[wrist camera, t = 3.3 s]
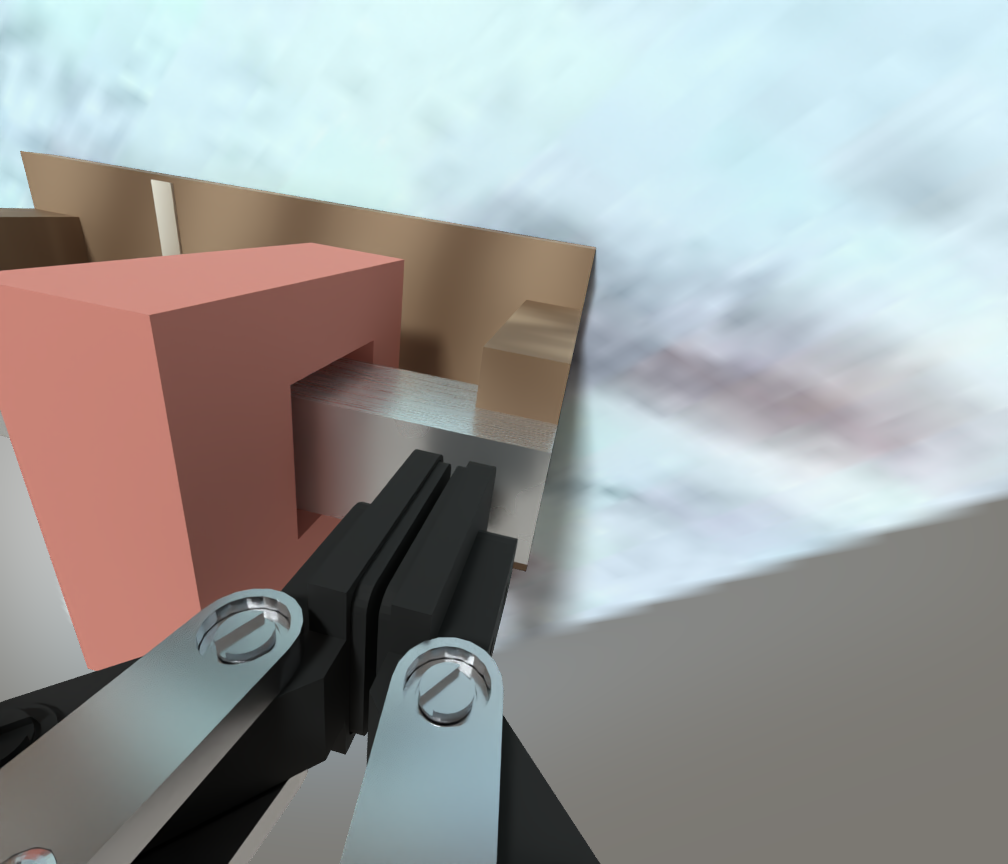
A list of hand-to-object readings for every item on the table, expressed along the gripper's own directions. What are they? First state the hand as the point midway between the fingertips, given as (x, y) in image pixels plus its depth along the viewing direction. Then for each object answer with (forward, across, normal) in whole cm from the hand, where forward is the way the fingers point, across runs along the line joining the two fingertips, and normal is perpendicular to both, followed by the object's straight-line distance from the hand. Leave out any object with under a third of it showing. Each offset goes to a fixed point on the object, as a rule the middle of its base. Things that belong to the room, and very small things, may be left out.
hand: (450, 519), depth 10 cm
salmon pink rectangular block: (+6, +5, 0) cm, 8 cm away
